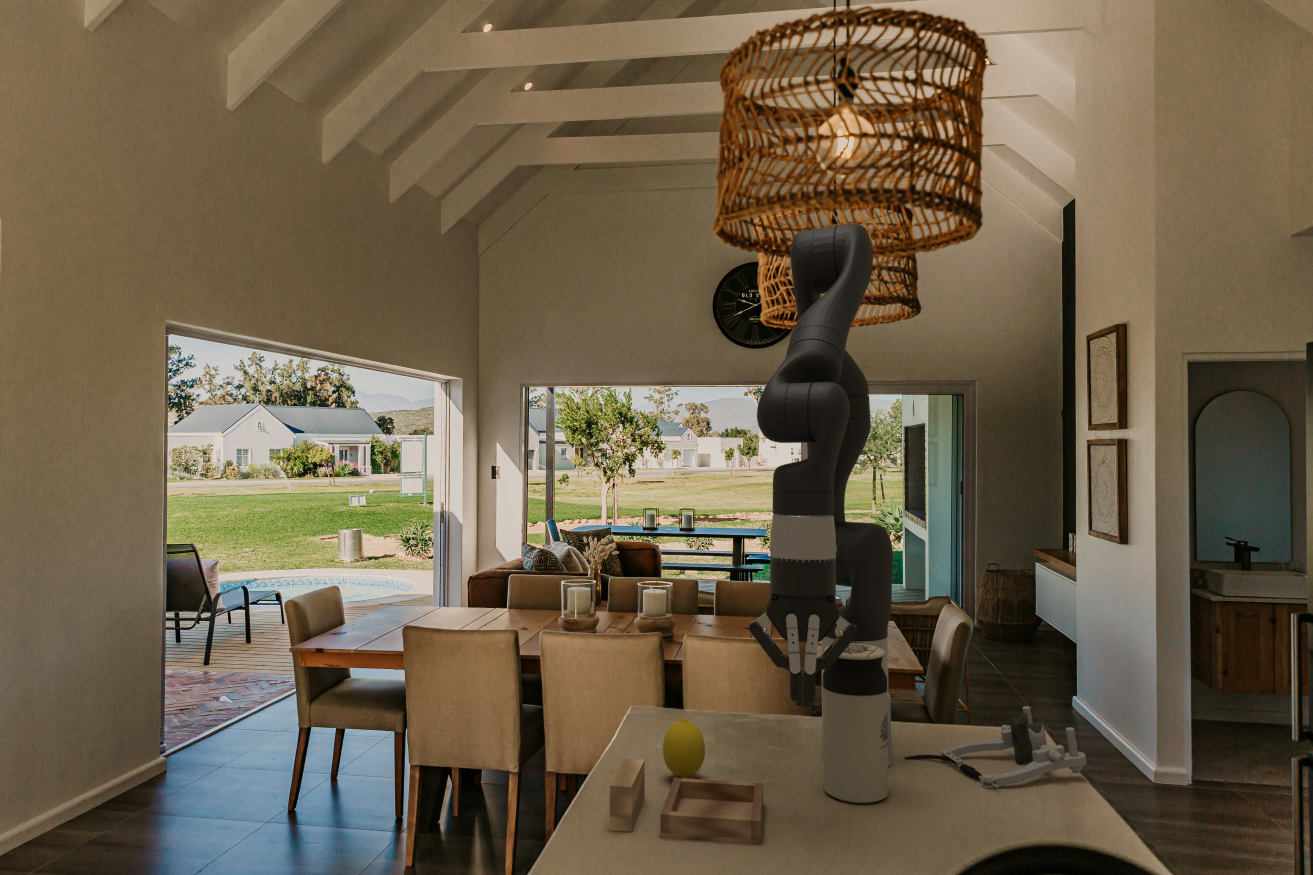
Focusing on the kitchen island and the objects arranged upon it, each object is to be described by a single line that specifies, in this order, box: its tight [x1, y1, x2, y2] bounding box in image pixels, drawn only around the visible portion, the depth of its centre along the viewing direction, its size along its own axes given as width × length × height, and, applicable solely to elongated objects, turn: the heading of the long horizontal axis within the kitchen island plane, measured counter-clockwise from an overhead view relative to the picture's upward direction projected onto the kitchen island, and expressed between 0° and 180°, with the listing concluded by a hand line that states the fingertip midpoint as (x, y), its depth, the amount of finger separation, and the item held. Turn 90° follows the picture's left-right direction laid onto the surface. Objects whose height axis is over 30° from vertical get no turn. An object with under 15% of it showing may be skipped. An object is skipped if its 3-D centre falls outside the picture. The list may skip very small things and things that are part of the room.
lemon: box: [662, 718, 706, 779], centre depth 110 cm, size 6×6×8 cm
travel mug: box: [822, 643, 889, 804], centre depth 106 cm, size 8×8×18 cm
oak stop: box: [609, 758, 646, 833], centre depth 99 cm, size 2×9×5 cm, turn 171°
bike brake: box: [903, 705, 1087, 790], centre depth 113 cm, size 14×7×20 cm
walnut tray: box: [659, 777, 764, 846], centre depth 98 cm, size 11×11×3 cm
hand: (802, 704), depth 97 cm, fingers closed
